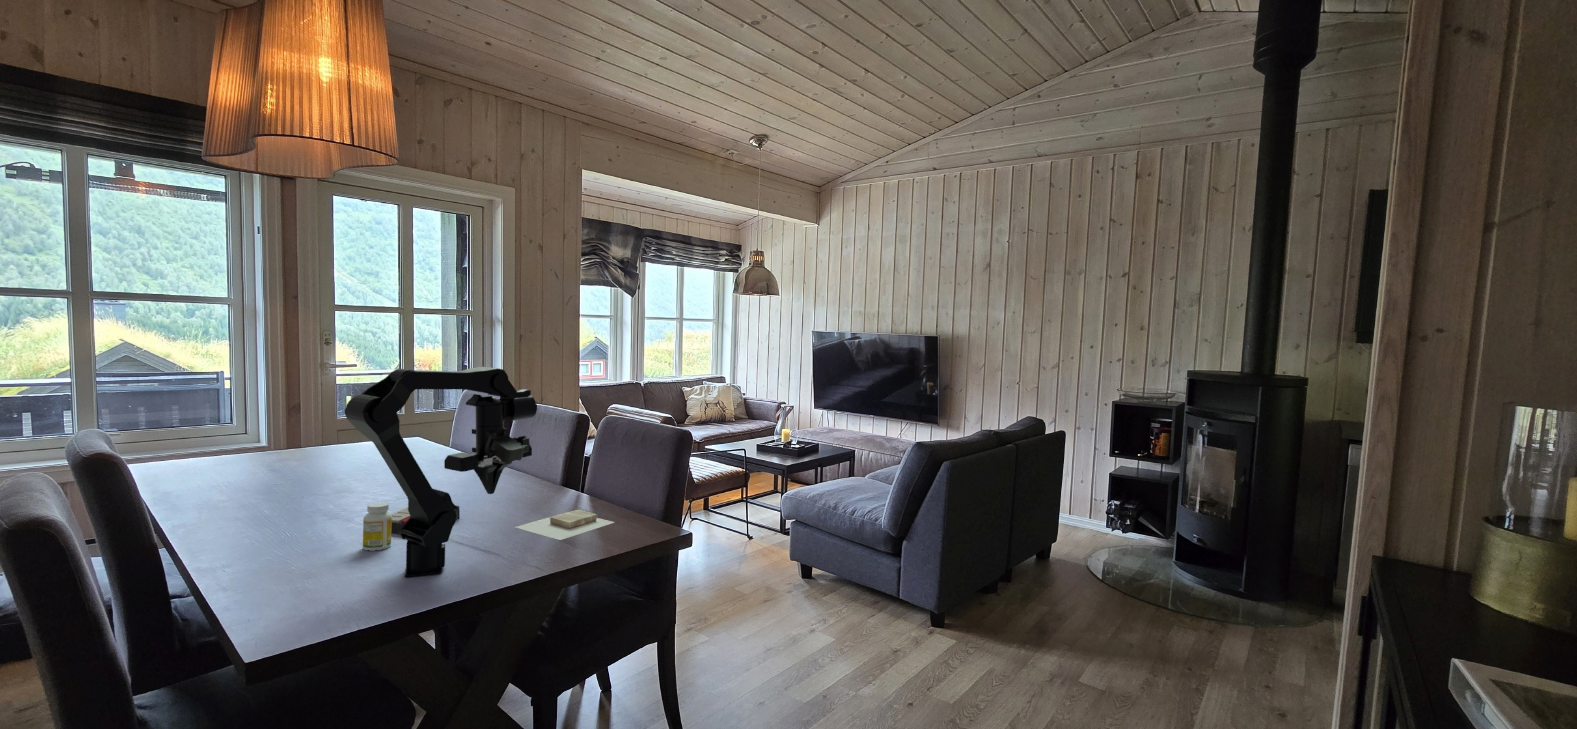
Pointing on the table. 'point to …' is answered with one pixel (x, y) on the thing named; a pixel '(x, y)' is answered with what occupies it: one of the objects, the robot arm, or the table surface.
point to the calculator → (403, 516)
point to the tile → (573, 519)
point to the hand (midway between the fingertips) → (490, 493)
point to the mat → (561, 528)
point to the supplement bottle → (377, 527)
